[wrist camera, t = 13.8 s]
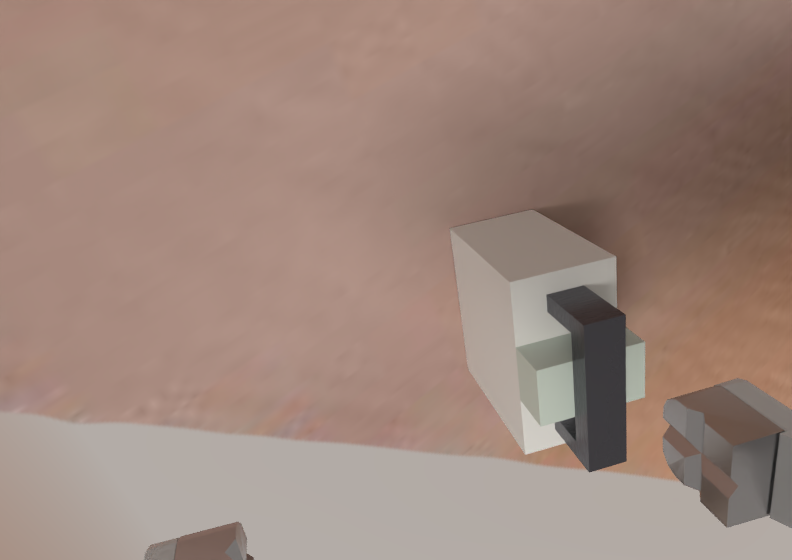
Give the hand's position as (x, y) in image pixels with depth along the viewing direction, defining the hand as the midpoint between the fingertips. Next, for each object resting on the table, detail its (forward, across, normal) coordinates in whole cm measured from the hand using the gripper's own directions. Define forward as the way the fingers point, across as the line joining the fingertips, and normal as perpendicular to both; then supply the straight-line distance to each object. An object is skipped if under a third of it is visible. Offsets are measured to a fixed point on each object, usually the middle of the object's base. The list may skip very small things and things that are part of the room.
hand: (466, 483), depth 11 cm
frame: (+22, -13, +13) cm, 29 cm away
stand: (+34, -13, +13) cm, 39 cm away
